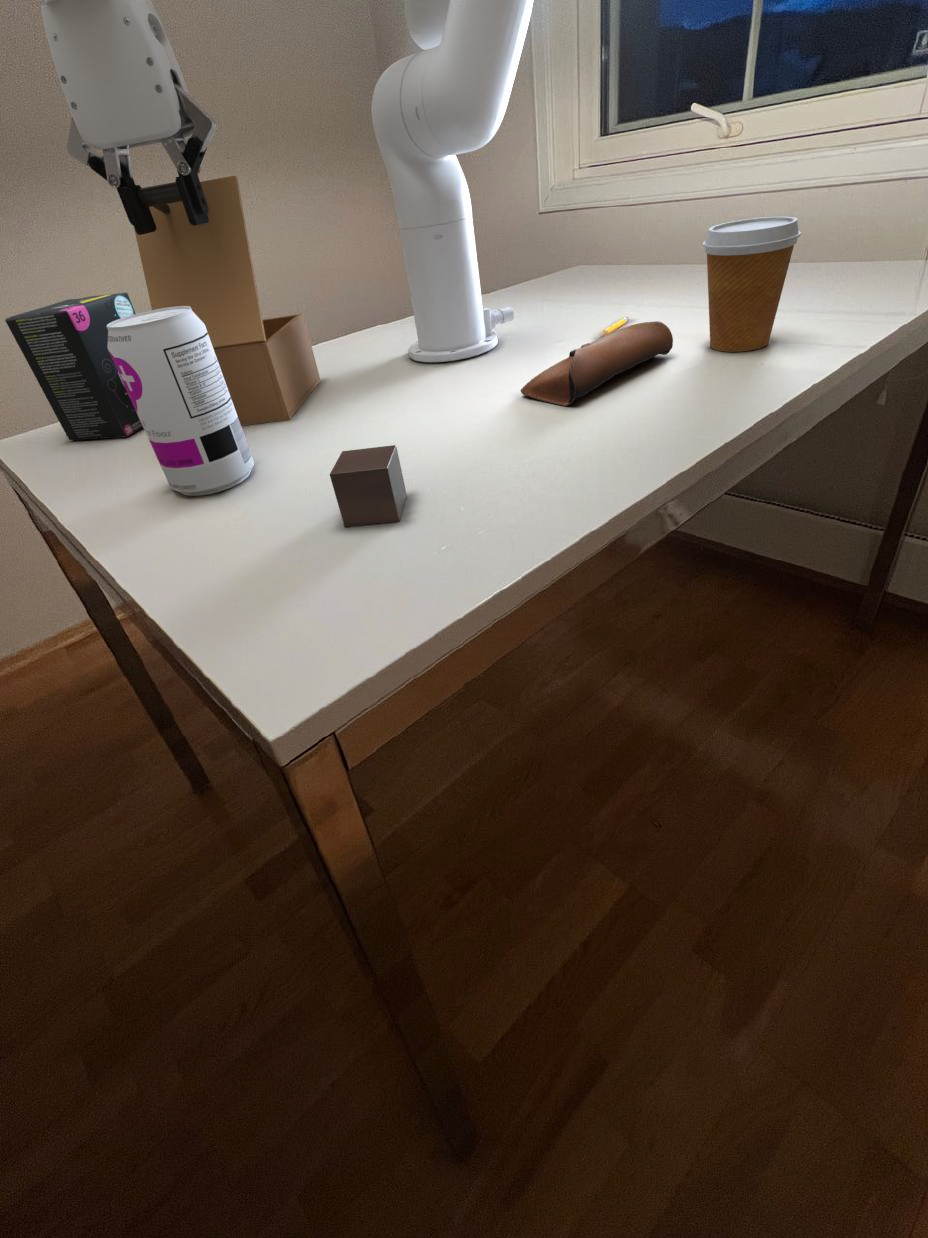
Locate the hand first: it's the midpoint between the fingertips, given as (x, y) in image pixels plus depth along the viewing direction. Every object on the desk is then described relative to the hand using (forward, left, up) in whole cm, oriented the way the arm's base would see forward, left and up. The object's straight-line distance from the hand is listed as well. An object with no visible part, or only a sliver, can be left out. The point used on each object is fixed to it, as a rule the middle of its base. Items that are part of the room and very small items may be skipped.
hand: (173, 226), depth 64 cm
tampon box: (+12, -16, -21) cm, 29 cm away
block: (-2, +34, -20) cm, 40 cm away
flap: (-1, -2, -4) cm, 5 cm away
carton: (-4, -6, -20) cm, 22 cm away
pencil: (-50, +9, -21) cm, 55 cm away
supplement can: (+7, +15, -21) cm, 27 cm away
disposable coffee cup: (-52, +28, -21) cm, 63 cm away
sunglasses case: (-35, +23, -21) cm, 47 cm away
